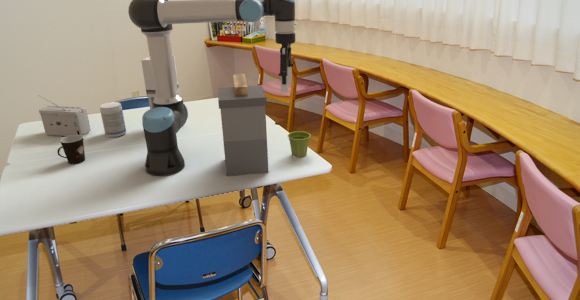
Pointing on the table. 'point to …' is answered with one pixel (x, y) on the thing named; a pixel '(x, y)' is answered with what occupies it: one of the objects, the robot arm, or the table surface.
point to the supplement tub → (113, 119)
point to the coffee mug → (73, 149)
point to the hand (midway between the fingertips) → (286, 87)
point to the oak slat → (240, 84)
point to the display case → (150, 81)
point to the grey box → (244, 130)
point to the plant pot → (299, 143)
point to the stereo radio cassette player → (65, 120)
